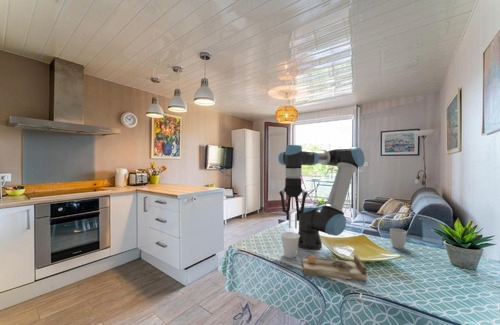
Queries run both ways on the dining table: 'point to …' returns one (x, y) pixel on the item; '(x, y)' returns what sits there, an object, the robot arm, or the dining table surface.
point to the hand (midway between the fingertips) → (292, 227)
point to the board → (336, 268)
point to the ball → (312, 259)
